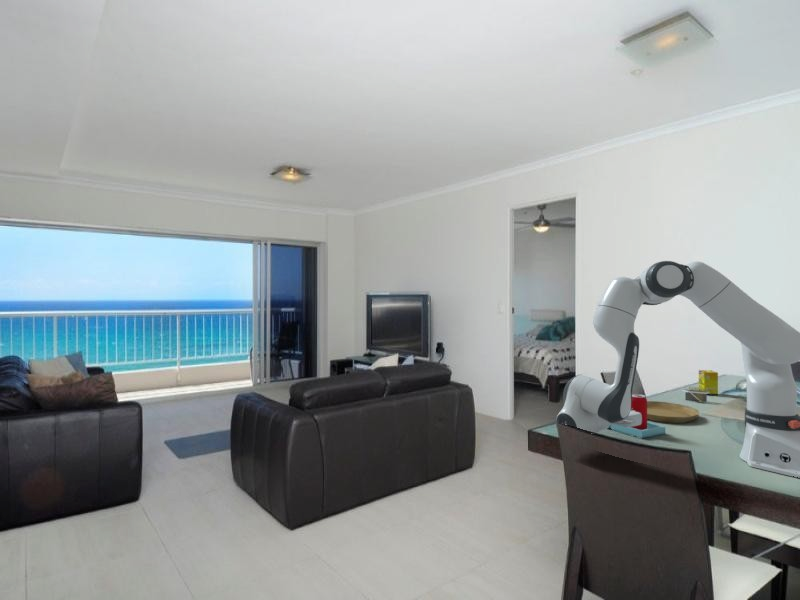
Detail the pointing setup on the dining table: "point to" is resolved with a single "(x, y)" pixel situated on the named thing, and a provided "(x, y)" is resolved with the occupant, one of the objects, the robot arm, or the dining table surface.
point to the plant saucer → (670, 412)
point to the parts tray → (649, 432)
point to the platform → (696, 394)
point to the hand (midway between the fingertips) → (619, 410)
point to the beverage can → (640, 409)
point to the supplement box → (709, 381)
